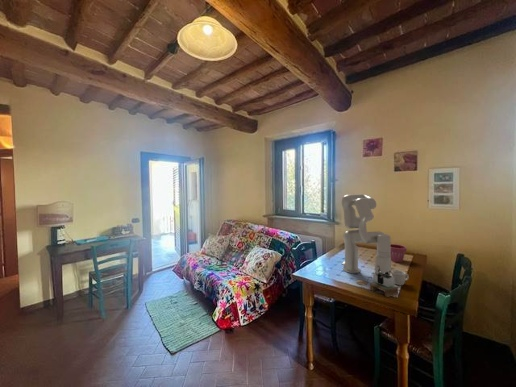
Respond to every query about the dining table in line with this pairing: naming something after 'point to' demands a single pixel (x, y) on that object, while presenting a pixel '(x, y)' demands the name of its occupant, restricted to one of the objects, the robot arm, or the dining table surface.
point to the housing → (385, 279)
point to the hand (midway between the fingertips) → (383, 281)
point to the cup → (399, 277)
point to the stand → (384, 288)
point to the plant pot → (397, 252)
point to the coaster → (361, 282)
